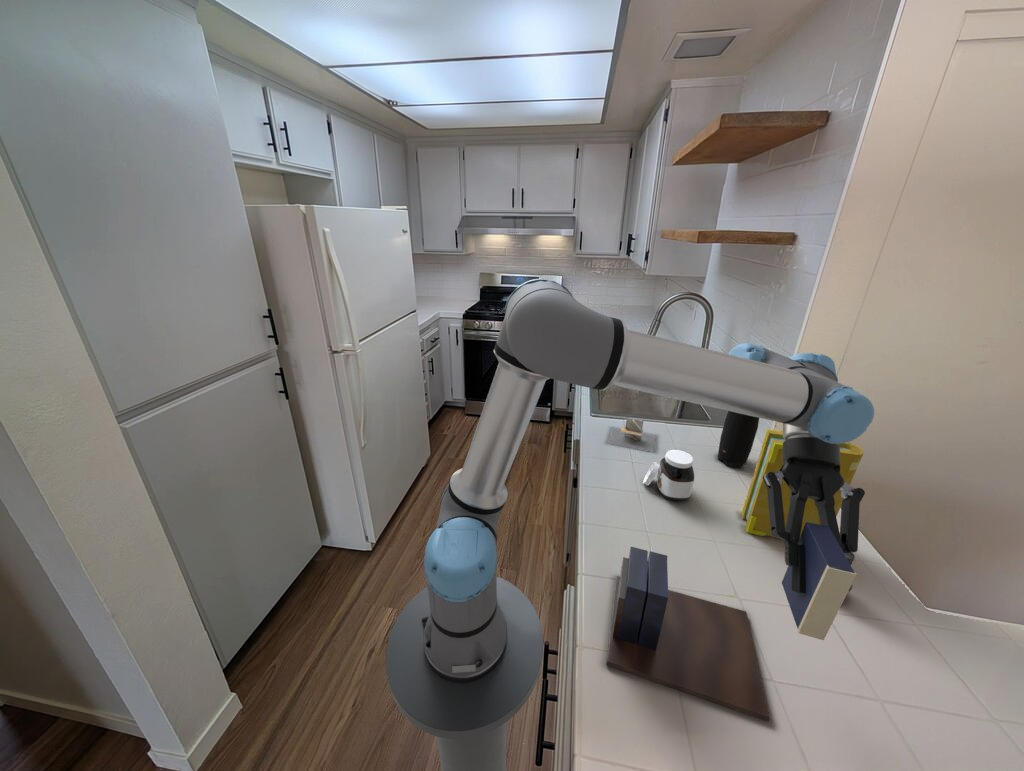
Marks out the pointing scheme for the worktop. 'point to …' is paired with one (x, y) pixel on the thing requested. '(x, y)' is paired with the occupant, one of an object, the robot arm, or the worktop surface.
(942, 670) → the worktop surface
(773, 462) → the book
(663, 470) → the spread jar
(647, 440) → the architectural model
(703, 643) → the book rack
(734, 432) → the portable speaker
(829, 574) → the navy book
